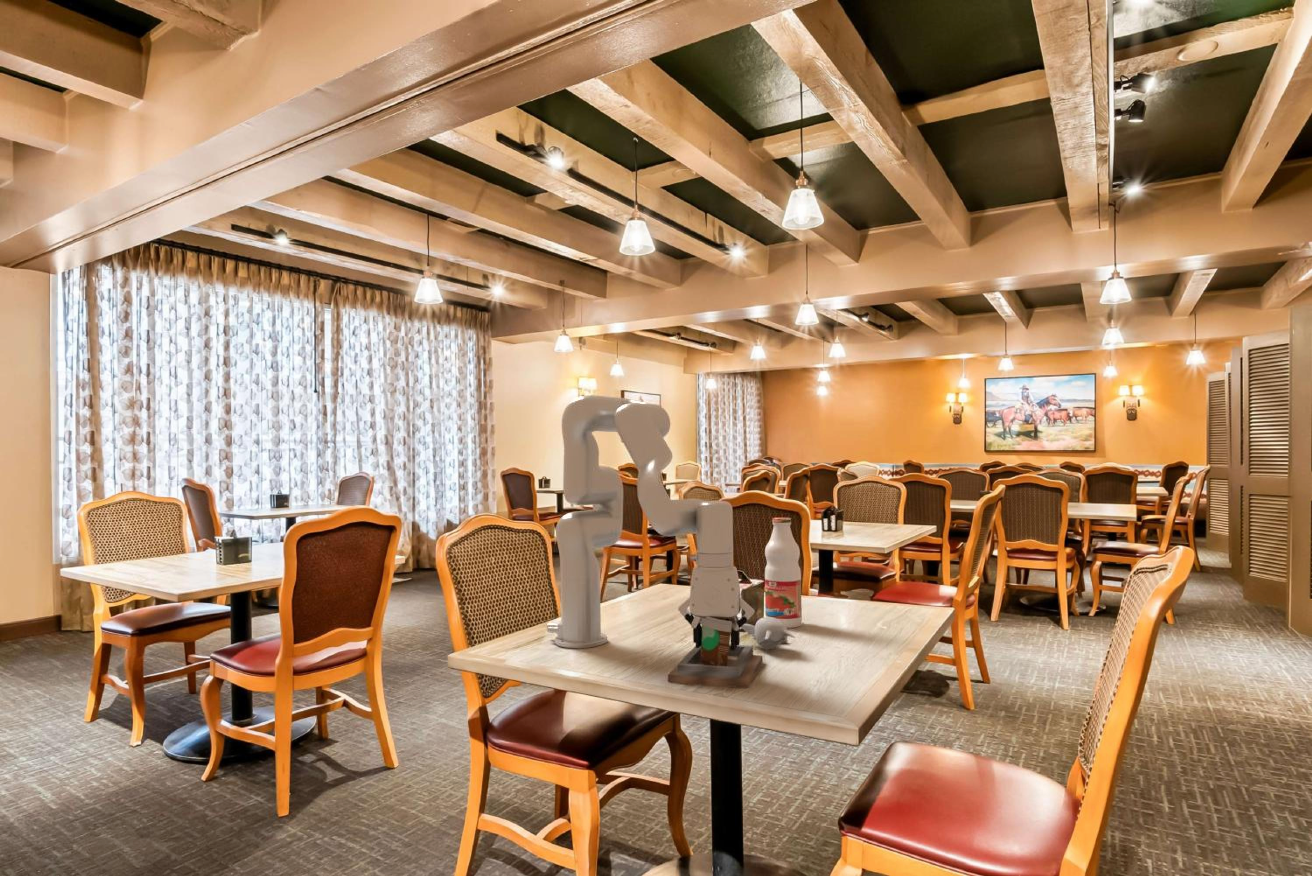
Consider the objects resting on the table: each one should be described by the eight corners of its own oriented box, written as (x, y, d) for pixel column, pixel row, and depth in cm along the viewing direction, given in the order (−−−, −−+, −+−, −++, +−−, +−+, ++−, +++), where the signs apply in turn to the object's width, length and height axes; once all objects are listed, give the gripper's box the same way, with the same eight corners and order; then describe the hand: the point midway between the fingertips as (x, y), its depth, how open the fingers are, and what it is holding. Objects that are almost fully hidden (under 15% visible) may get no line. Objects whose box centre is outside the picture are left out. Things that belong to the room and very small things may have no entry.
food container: (693, 652, 157) (698, 606, 157) (722, 655, 157) (727, 609, 157) (696, 669, 145) (701, 618, 145) (726, 672, 145) (732, 622, 145)
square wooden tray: (667, 682, 144) (667, 664, 144) (690, 657, 161) (690, 641, 161) (748, 688, 139) (748, 669, 139) (762, 662, 156) (762, 646, 157)
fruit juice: (809, 624, 191) (807, 518, 192) (785, 630, 185) (783, 520, 186) (781, 619, 198) (779, 516, 199) (758, 624, 192) (756, 518, 193)
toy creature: (783, 623, 180) (812, 628, 161) (775, 652, 178) (803, 661, 159) (735, 607, 179) (759, 611, 160) (727, 637, 177) (750, 644, 158)
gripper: (669, 562, 150) (671, 649, 149) (753, 564, 145) (755, 655, 144) (679, 557, 157) (680, 640, 156) (759, 559, 152) (761, 645, 151)
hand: (716, 646), depth 150 cm, fingers open, 6 cm apart
